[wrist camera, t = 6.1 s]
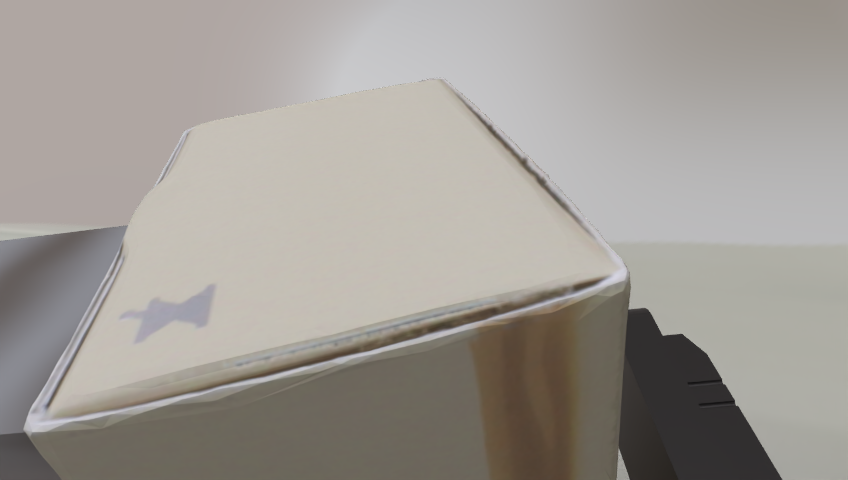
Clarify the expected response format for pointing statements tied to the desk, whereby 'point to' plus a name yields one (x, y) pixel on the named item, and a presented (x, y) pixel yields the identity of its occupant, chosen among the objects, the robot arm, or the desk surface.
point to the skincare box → (347, 309)
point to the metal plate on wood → (42, 326)
